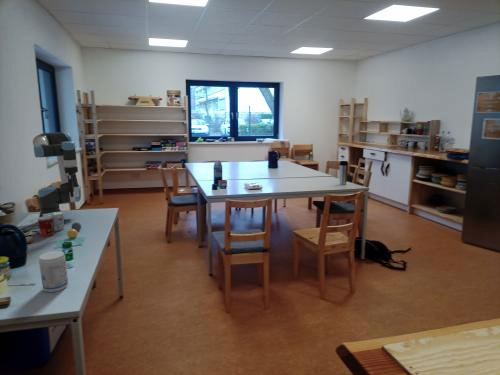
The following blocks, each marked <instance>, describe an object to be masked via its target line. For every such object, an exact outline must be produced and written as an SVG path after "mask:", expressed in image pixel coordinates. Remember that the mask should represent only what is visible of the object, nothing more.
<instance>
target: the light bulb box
mask: <svg viewBox="0 0 500 375" xmlns="http://www.w3.org/2000/svg"><path fill="white" fill-rule="evenodd" d="M61 212H62V211H61ZM61 212H54V213H49V214H43V216H52V217H53V223H54V230H55V232H58V231H63V230H65V222H64V219H63V217H64V213H63V212H62V213H61Z"/></svg>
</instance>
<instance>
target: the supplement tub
mask: <svg viewBox="0 0 500 375" xmlns="http://www.w3.org/2000/svg"><path fill="white" fill-rule="evenodd" d="M38 261H39V262H38V264H39V270H40V276H41V278H40V279H41V284H42V285H41V286H42V289H43V291H45V292H46V293H47V292H48V293H55V292H59V291H62V290H65V288H67V287H68V285H69V278H68V270H67V269H68V268H67V262H66V255H65V252H63V251H61V250H53V251H49V252H45V253H42V254H40V255H39V258H38Z"/></svg>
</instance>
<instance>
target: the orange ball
mask: <svg viewBox="0 0 500 375" xmlns="http://www.w3.org/2000/svg"><path fill="white" fill-rule="evenodd" d="M66 234H67V237H68V239H70V238H77V236H78V231H76V230H75V229H72V228H71V229H69V230H68V231H67V233H66Z"/></svg>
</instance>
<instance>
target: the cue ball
mask: <svg viewBox="0 0 500 375" xmlns="http://www.w3.org/2000/svg"><path fill="white" fill-rule="evenodd" d="M71 229H75V230H76V231H77V232H79V231H80V230H81V229H82V225H81V223H80V222H78V221H77V222H73V223H72V224H71Z"/></svg>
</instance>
